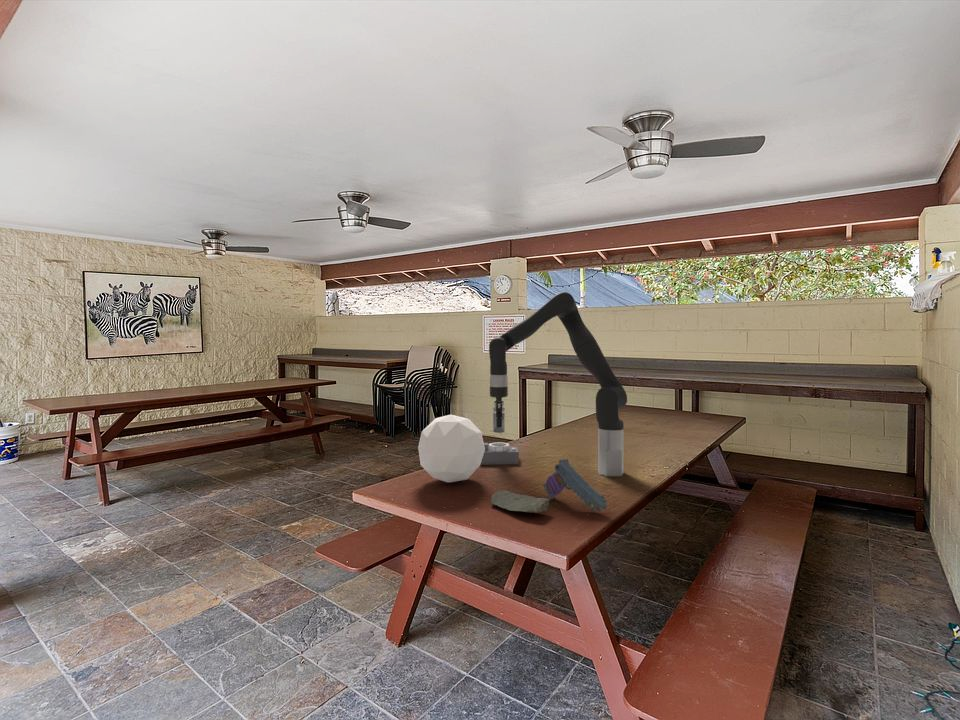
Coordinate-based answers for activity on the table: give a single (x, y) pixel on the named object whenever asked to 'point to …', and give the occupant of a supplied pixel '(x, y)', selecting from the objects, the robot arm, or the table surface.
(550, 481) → the toy gun
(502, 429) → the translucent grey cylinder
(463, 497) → the table surface
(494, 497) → the stone
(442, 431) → the geometric sphere
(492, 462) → the camera body
